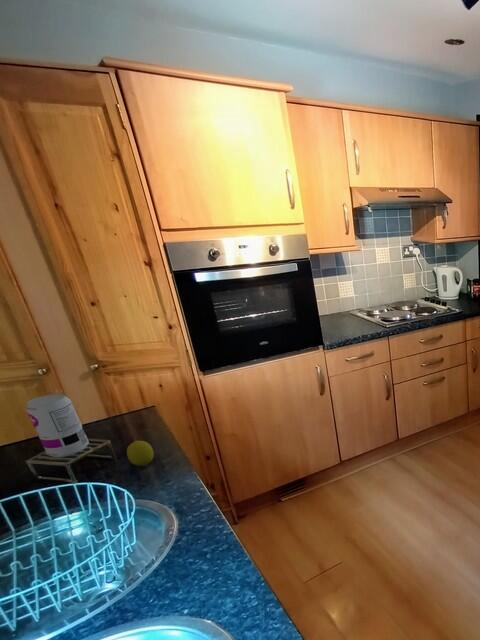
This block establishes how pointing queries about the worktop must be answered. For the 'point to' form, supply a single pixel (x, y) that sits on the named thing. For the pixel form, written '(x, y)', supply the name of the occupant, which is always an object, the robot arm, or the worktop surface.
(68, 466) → the wire rack
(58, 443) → the supplement can
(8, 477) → the worktop surface
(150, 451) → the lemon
